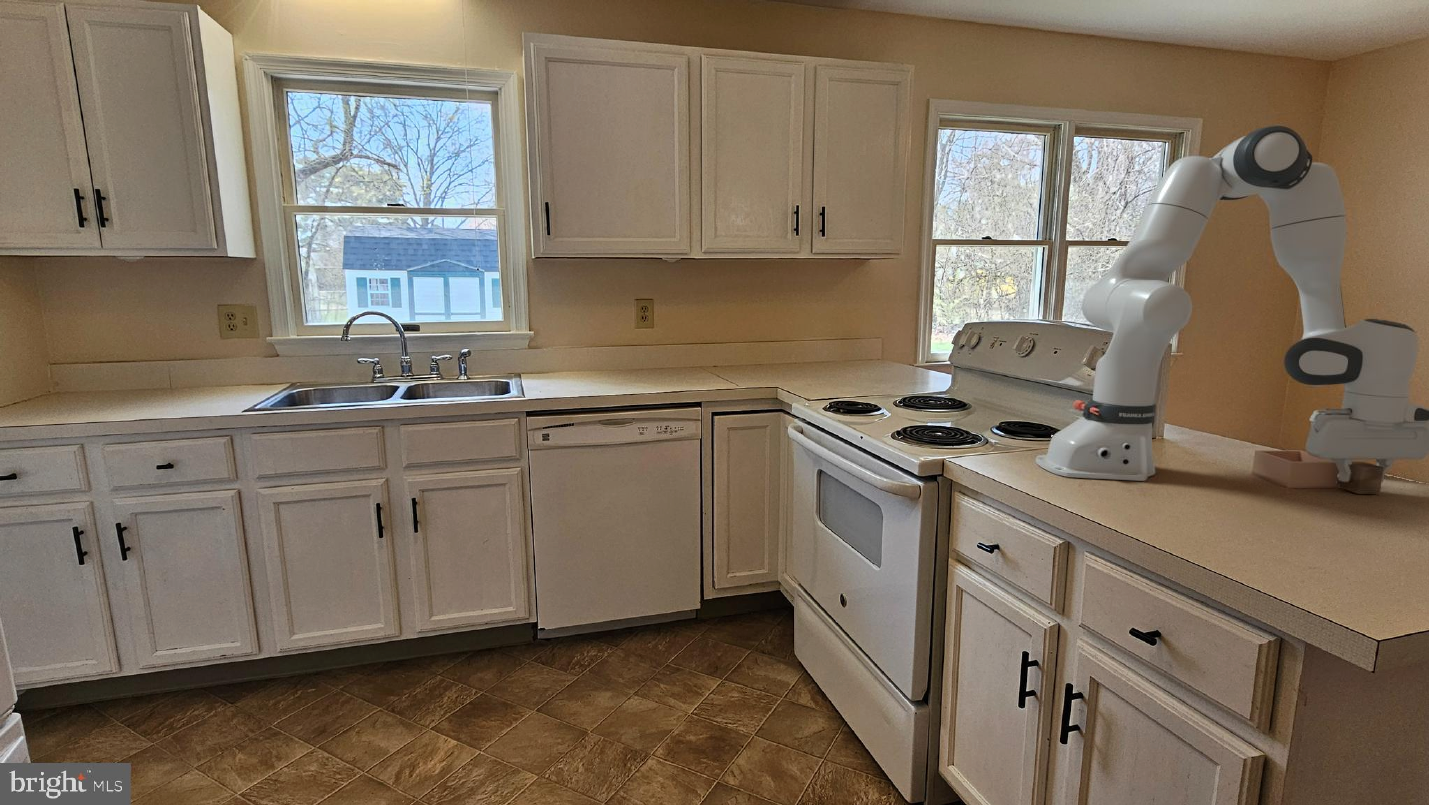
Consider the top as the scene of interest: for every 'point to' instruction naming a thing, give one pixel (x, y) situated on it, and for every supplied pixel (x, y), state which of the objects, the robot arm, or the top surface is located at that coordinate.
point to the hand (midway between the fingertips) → (1360, 481)
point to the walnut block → (1364, 478)
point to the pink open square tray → (1295, 469)
